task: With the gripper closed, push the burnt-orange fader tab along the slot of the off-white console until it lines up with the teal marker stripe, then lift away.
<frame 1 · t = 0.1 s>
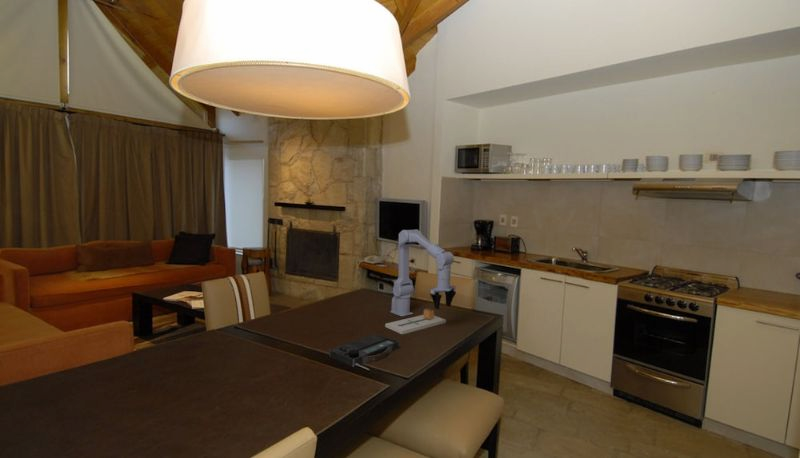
hand: (442, 307, 187), 10 cm above the table, tool pointing down, fingers open, 7 cm apart
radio: (371, 356, 155), on the table
fader console: (416, 324, 191), on the table
fader tab: (428, 313, 196), point 4 cm above the table, slide at 0.0 cm
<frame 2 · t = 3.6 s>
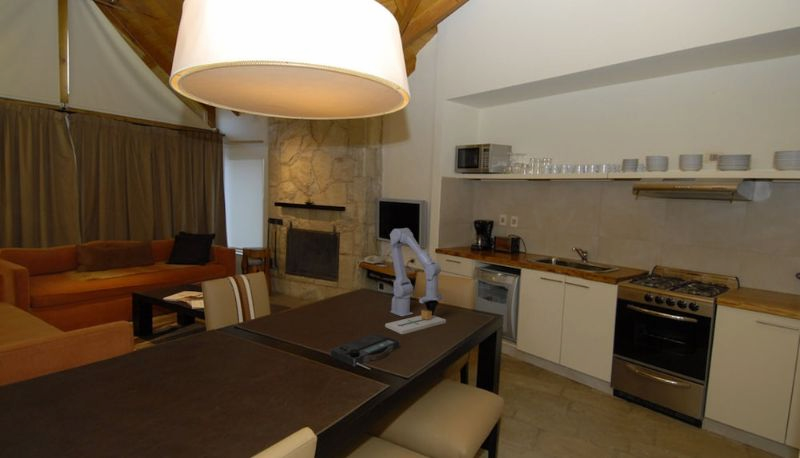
hand: (430, 315, 197), 3 cm above the table, tool pointing down, fingers closed
fader tab: (426, 313, 195), point 4 cm above the table, slide at 1.5 cm, touching gripper
everything else where it was.
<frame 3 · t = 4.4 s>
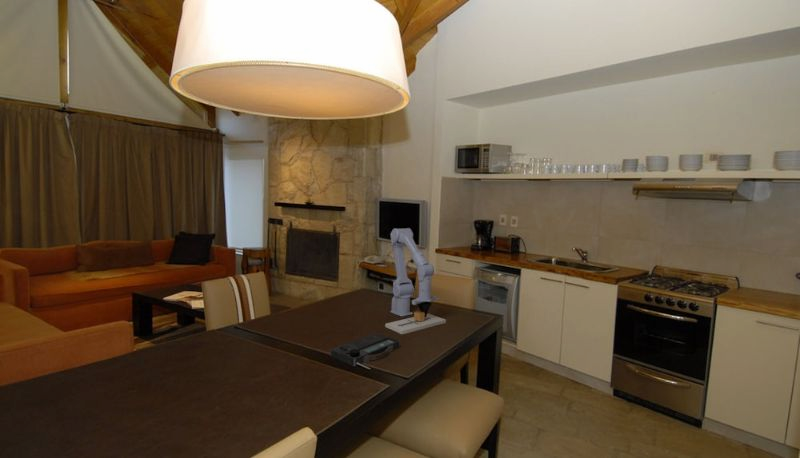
hand: (423, 317, 194), 3 cm above the table, tool pointing down, fingers closed
fader tab: (419, 315, 192), point 4 cm above the table, slide at 6.2 cm, touching gripper
everything else where it was.
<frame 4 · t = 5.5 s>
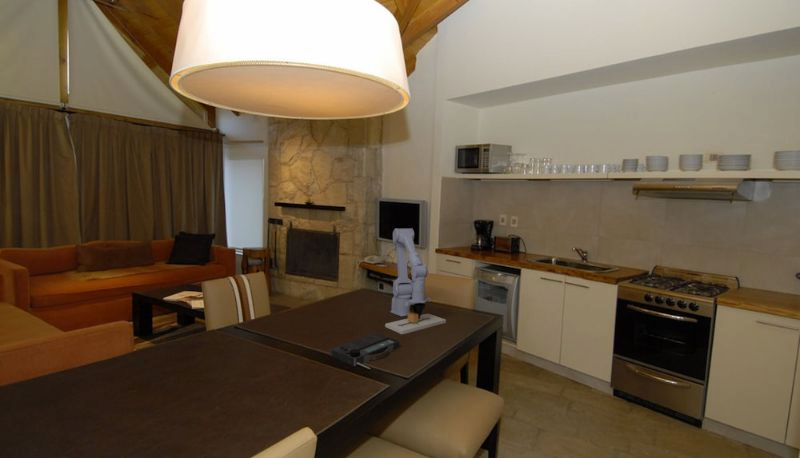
hand: (417, 318, 192), 3 cm above the table, tool pointing down, fingers closed
fader tab: (412, 316, 190), point 4 cm above the table, slide at 10.3 cm, touching gripper
everything else where it was.
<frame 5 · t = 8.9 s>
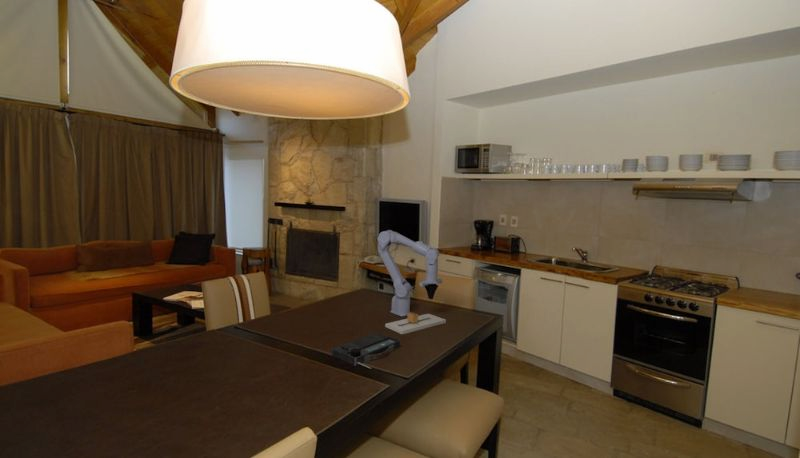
hand: (430, 298, 203), 9 cm above the table, tool pointing down, fingers closed
fader tab: (412, 317, 189), point 4 cm above the table, slide at 10.4 cm
at the end: fader tab slide at 10.4 cm; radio moved 1.5 cm from its start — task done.
